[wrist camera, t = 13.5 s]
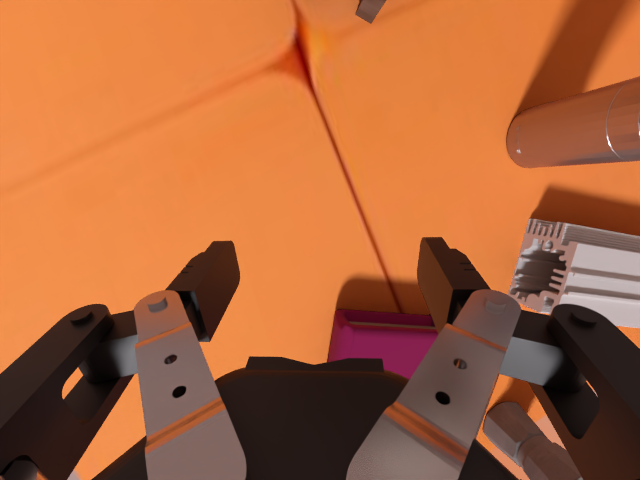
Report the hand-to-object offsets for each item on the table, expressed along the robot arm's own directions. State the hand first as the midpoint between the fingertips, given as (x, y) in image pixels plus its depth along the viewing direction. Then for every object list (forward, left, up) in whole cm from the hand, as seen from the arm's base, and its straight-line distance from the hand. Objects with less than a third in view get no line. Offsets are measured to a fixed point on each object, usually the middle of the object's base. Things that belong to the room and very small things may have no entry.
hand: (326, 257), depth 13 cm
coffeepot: (-35, +48, -31) cm, 67 cm away
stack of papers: (-53, +19, -31) cm, 64 cm away
